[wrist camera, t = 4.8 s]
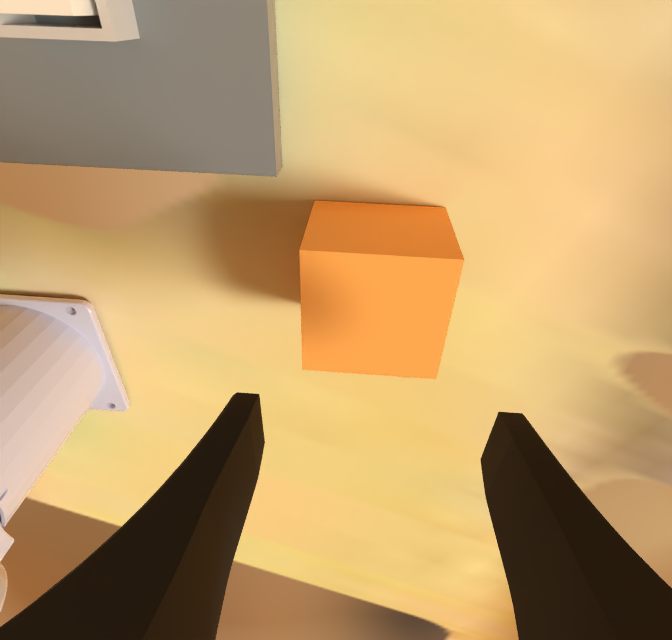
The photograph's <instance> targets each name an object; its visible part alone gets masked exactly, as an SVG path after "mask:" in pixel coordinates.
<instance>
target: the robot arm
mask: <svg viewBox="0 0 672 640" xmlns="http://www.w3.org/2000/svg"><path fill="white" fill-rule="evenodd" d="M71 307H72V308H73V309H75V310H73V309H72V308H71ZM129 406H130V402H129V399H128V397H127V394H126V391H125V389H124V386H123V383H122V381H121V378H120V376H119V373H118V370H117V368H116V365H115V362H114V360H113V357H112V355H111V352H110V349H109V347H108V344H107V342H106V339H105V336H104V334H103V331H102V328H101V326H100V323H99V321H98V318H97V315H96V313H95V310H94V308H93V306H92V305H91V304H90V303H89V302H87V301H85V300H80V299H65V298H50V297H34V296H19V295H4V294H0V561H1V560H2V558H3V557H4V555H5V554H6V552H7V551H8V550H9V548H10V547H11V545H12V544H13V542H14V539H13V538H12V537H11V536H10V535H8V534H7V533H6V532H5V531H4V529H3V528H4V527H5V525H6V524H7V523H8V521H9V520H10V518H11V517H12V516H13V514H14V513H15V511H16V510H17V509H18V507H19V506H20V504H21V503H22V502H23V500H24V499H25V497H26V496H27V495H28V493H29V492H30V490H31V489H32V488H33V486H34V485H35V483H36V482H37V481H38V479H39V478H40V476H41V475H42V474H43V472H44V471H45V469H46V468H47V467H48V465H49V464H50V462H51V461H52V459H53V458H54V457H55V455H56V454H57V452H58V451H59V450H60V448H61V447H62V445H63V444H64V443H65V441H66V440H67V438H68V437H69V436H70V434H71V433H72V431H73V430H74V429H75V427H76V426H77V424H78V423H79V422H80V420H81V419H82V417H83V416H84V415H85V413H86V412H87V410H88V409H96V410H109V411H126V410H127V409H128V407H129ZM264 443H265V441H264V432H263V424H262V415H261V406H260V397H259V394H250V393H236V394H234V395H233V396H232V398H231V399H230V401H229V402H228V404H227V405H226V407H225V408H224V409H223V411H222V412H221V414H220V415H219V416H218V418H217V419H216V421H215V422H214V423H213V425H212V426H211V427H210V429H209V430H208V431H207V433H206V434H205V435H204V436H203V438H202V439H201V440H200V441H199V443H198V444H197V445H196V446H195V448H194V449H193V450H192V451H191V453H190V454H189V455H188V456H187V458H186V459H185V460H184V461H183V462H182V463H181V465H180V466H179V467H178V468H177V469H176V470H175V471H174V473H173V474H172V475H171V476H170V477H169V478H168V479H167V480H166V482H165V483H164V484H163V485H162V486H161V487H160V488H159V489H158V491H157V492H156V493H155V494H154V495H153V496H152V497H151V498H150V499H149V500H148V501H147V502H146V503H145V504H144V505H143V506H142V507H141V508H140V509H139V510H138V511H137V512H136V513H135V514H134V515H133V516H132V517H131V518H130V519H129V520H128V521H127V522H126V523H125V524H124V525H123V526H122V527H121V528H120V529H119V530H118V531H117V532H115V533H114V534H113V535H112V536H111V537H110V538H109V539H108V540H107V541H106V542H105V543H103V544H102V545H101V546H100V547H99V548H98V549H97V550H96V551H95V552H94V553H92V554H91V555H90V556H89V557H88V558H87V559H86V560H84V561H83V562H82V563H81V564H80V565H79V566H77V567H76V568H75V569H74V570H73V571H71V572H70V573H69V574H68V575H66V576H65V577H64V578H63V579H61V580H60V581H59V582H58V583H57V584H55V585H54V586H53V587H52V588H50V589H49V590H48V591H47V592H46V593H44V594H43V595H42V596H41V597H39V598H38V599H37V600H36V601H34V602H33V603H32V604H31V605H29V606H28V607H27V608H25V609H24V610H23V611H21V612H20V613H19V614H18V615H16V616H15V617H13V618H12V619H11V620H9V621H8V622H7V623H5V624H4V625H3V626H1V627H0V640H215V638H216V633H217V628H218V623H219V619H220V614H221V609H222V605H223V600H224V595H225V590H226V585H227V581H228V577H229V573H230V570H231V566H232V562H233V559H234V555H235V552H236V549H237V546H238V542H239V539H240V536H241V533H242V529H243V526H244V523H245V519H246V516H247V513H248V510H249V506H250V503H251V500H252V496H253V493H254V490H255V486H256V483H257V480H258V475H259V470H260V465H261V460H262V454H263V449H264ZM481 466H482V474H483V482H484V488H485V495H486V500H487V504H488V508H489V512H490V516H491V520H492V524H493V528H494V532H495V535H496V539H497V543H498V547H499V550H500V554H501V558H502V562H503V566H504V569H505V573H506V577H507V581H508V585H509V589H510V593H511V598H512V602H513V607H514V613H515V619H516V625H517V631H518V637H519V640H672V588H671V587H670V586H668V584H666V582H665V581H664V580H662V579H661V578H660V577H659V576H658V574H656V572H654V570H653V569H652V568H650V566H649V565H648V564H647V563H645V561H644V560H643V559H642V558H641V557H640V556H639V555H638V554H637V553H636V552H635V551H634V550H633V549H632V548H631V547H630V546H629V545H628V544H627V542H626V541H625V540H624V539H623V538H622V537H621V536H620V535H619V534H618V533H617V531H615V529H614V528H613V527H612V526H611V525H610V524H609V522H608V521H607V520H606V519H605V518H604V517H603V516H602V514H601V513H600V512H599V511H598V510H597V509H596V507H595V506H594V505H593V504H592V503H591V501H590V500H589V499H588V498H587V497H586V495H585V494H584V493H583V492H582V490H581V489H580V488H579V487H578V485H577V484H576V483H575V482H574V480H573V479H572V478H571V477H570V476H569V474H568V473H567V472H566V470H565V469H564V468H563V467H562V465H561V464H560V463H559V461H558V460H557V459H556V457H555V456H554V455H553V454H552V452H551V451H550V450H549V448H548V447H547V446H546V444H545V443H544V442H543V440H542V439H541V438H540V436H539V435H538V433H537V432H536V431H535V429H534V428H533V427H532V425H531V424H530V423H529V421H528V420H527V419H526V417H525V416H524V415H523V414H521V413H508V412H499V413H498V415H497V418H496V420H495V423H494V426H493V428H492V431H491V434H490V436H489V439H488V441H487V444H486V447H485V449H484V452H483V454H482V457H481ZM6 591H7V573H6V571H5V569H4V567H3V566H2V565H1V564H0V611H1V609H2V606H3V602H4V599H5V596H6Z"/></svg>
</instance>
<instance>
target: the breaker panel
mask: <svg viewBox="0 0 672 640" xmlns="http://www.w3.org/2000/svg"><path fill="white" fill-rule="evenodd" d="M95 2H96V6H97V10H98V14H99V15H89V16H62V15H35V14H8V13H0V162H6V163H26V164H46V165H64V166H83V167H84V166H85V167H102V168H103V167H104V168H122V169H140V170H141V169H142V170H161V171H179V172H198V173H217V174H236V175H256V176H275V177H277V175H278V173H279V172H280V170H281V168H282V152H281V130H280V109H279V87H278V66H277V45H276V23H275V2H274V0H95Z"/></svg>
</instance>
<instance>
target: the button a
mask: <svg viewBox="0 0 672 640" xmlns="http://www.w3.org/2000/svg"><path fill="white" fill-rule="evenodd" d="M0 13H8V14H35V15H62V16H89V15H99V14H98V10H97V6H96V2H95V0H0Z"/></svg>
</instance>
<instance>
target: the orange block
mask: <svg viewBox="0 0 672 640" xmlns="http://www.w3.org/2000/svg"><path fill="white" fill-rule="evenodd" d="M299 256H300V294H301V333H302V370H314V371H329V372H343V373H357V374H371V375H385V376H399V377H413V378H427V379H436V377H437V373H438V369H439V365H440V360H441V356H442V352H443V348H444V343H445V339H446V335H447V331H448V326H449V322H450V318H451V314H452V309H453V305H454V301H455V296H456V292H457V288H458V284H459V279H460V275H461V271H462V267H463V262H464V258H463V255H462V252H461V250H460V247H459V244H458V241H457V238H456V236H455V233H454V230H453V227H452V224H451V222H450V219H449V216H448V213H447V210H446V208H445V207H429V206H410V205H392V204H373V203H355V202H336V201H318V200H315V201H314V204H313V207H312V211H311V214H310V217H309V220H308V224H307V227H306V230H305V233H304V237H303V240H302V243H301V246H300V250H299Z"/></svg>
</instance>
